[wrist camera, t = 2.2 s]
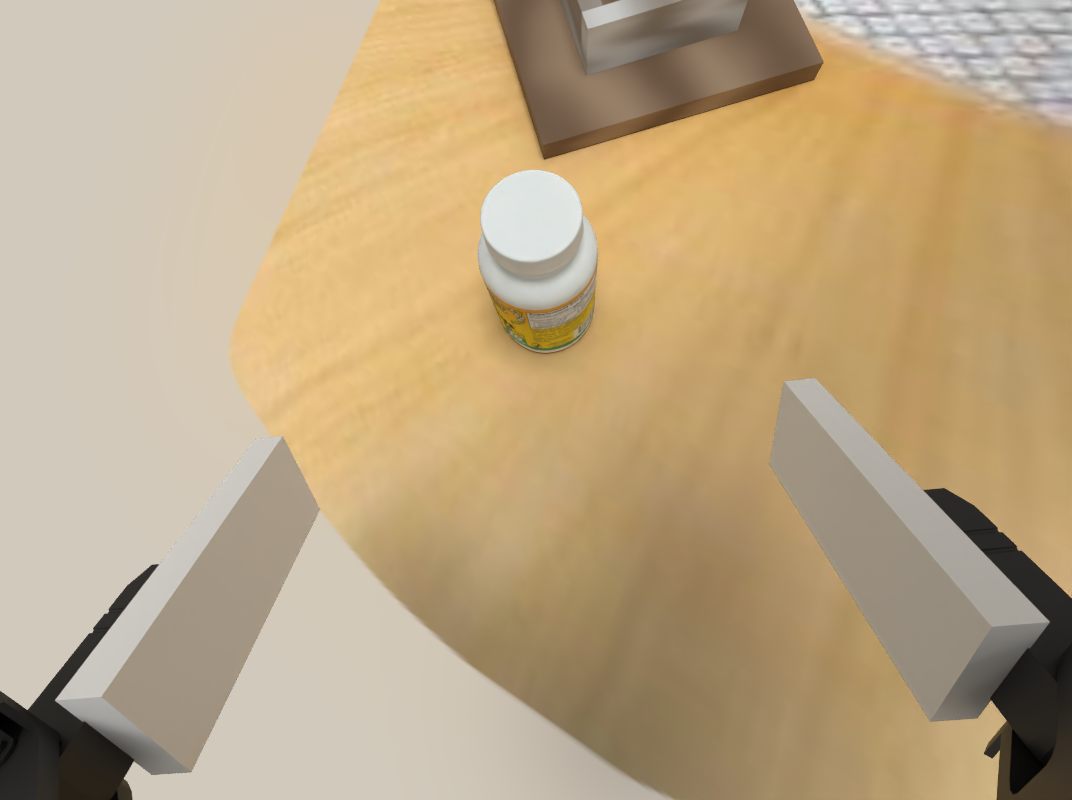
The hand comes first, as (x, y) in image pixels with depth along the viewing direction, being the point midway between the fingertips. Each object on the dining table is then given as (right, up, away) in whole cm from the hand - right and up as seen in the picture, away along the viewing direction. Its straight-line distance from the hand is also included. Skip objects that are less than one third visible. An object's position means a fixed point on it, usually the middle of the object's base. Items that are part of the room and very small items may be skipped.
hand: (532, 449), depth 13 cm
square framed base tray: (+7, +27, +19) cm, 33 cm away
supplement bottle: (+1, +7, +15) cm, 16 cm away
